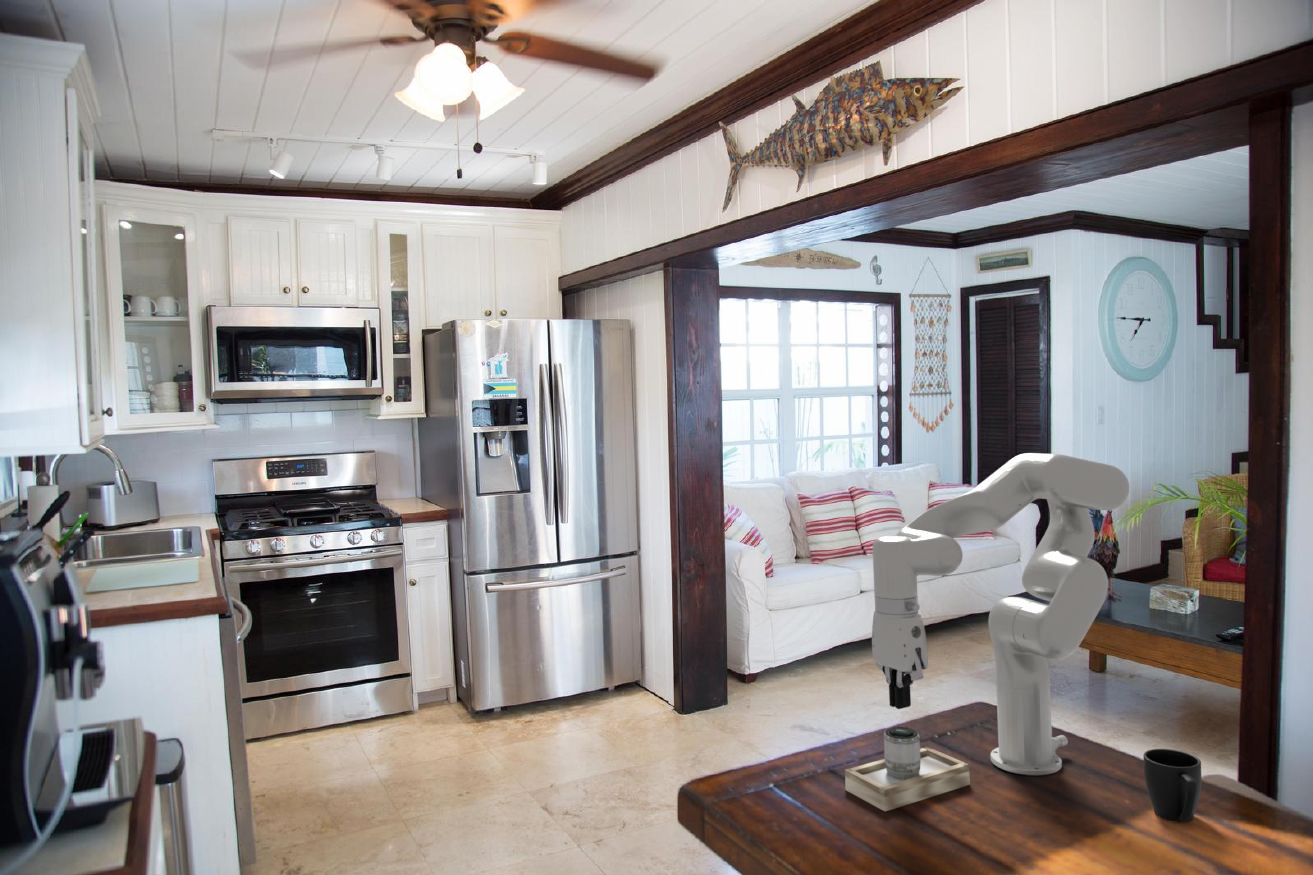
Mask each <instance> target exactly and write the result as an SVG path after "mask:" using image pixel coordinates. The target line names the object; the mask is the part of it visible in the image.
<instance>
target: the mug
mask: <svg viewBox="0 0 1313 875" xmlns="http://www.w3.org/2000/svg"><path fill="white" fill-rule="evenodd" d="M1142 759H1143V775H1144V781H1145V786H1146V790H1147V794H1148V796H1149V799H1150V803H1151V806H1152V809H1153V812H1154V814H1155V815H1156V816H1157V817H1159V818H1160V819H1162V820H1164V821H1168V822H1172V823H1173V822H1174V823H1189V822H1191V821H1193V820H1194V819H1195V818H1194V816H1195V813H1196V810H1197V808H1198V804H1199V800H1200V796H1201V791H1202V790H1201V789H1202V761H1201V760H1200V758H1198V757H1197V756H1195V755H1194V754H1191V753H1189V752H1186V751H1182V750H1176V749H1168V748H1154V749H1148V750H1147V751H1145V752H1144V753H1143V758H1142Z"/></svg>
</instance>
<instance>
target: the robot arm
mask: <svg viewBox="0 0 1313 875" xmlns="http://www.w3.org/2000/svg"><path fill="white" fill-rule="evenodd" d="M1129 493H1130V482H1129V480H1128V478H1127V476H1126V474H1125V472H1123V470H1121V469H1119V468H1118V467H1116V466H1115V465H1111V464H1108V463H1103V462H1098V461H1093V460H1087V459H1083V458H1078V457H1075V456H1071V455H1070V456H1069V455H1065V454H1058V453H1043V452H1042V453H1040V452H1039V453H1037V452H1027V453H1021V454H1020V453H1019V454H1018V455H1015V456H1014V457H1012V458H1011V459H1009V460H1008V461H1006V462H1005V463H1004V464H1003V465H1002V466H1001V467H999V468H998V469H997V470H995V471H994V472H993V473H991V474H990V475H989V476H988V477H986V478H985V479H984V480H983V481H981V482H980V483H979V484H977V485H976V486H975V487H973V488H971V489H970V490H969V491H968V492H966V493H964V494H960V495H957V496H956V497H953V498H951V499H948V500H947V501H945V502H942V503H939V504H938V505H935V506H933V507H931V508H929V509H927V510H924V512H922V513H920V514H919V515H918V516H916V517H915V518H914V519H913V520H911V521H909V522H908V524H906V525H905V526H904V527H902V528H901V529H900V530H899V531H898V532H897V533H896V535H885V536H880V537H877V538H876V539H875V540H874V541H873V543H872V565H873V566H872V567H873V568H872V569H873V570H872V571H873V590H874V592H873V593H874V612H873V617H872V626H871V627H872V628H871V650H872V652H871V653H872V657H873V658H872V659H873V660H874V662H875V666H876V667H877V668H878V669H879V670H881V671H882V672H883V675H884V676H885V682H886V683H887V684H888V695H889V696H888V697H889V698H888V699H889V706H890V707H891V708H895V709H897V710H901V709H906V708H909V707H911V706H912V705H911V704H912V700H911V697H912V696H911V686H912V685H913V684H914V681H920V680H924V673H923V670H926V669H928V668H929V654H928V653H929V652H928V643H927V636H926V635H927V634H926V630H925V625H924V621H923V617H922V614H919V611H920V605H919V602H918V601H919V600H918V599H919V598H918V576H935V577H936V576H937V577H938V576H941V577H943V576H947V575H950V574H952V573H954V572H955V571H956V570H957V569H958V568H959V567H960V565H961V564H962V562H963V549H962V547H961V545H960V544H959V543H958V542H957V540H956V539H955V538H959V537H963V536H967V535H973V534H981V533H984V532H985V533H986V532H989V531H993V530H996V529H998V528H1001V527H1003V526H1004V525H1005V524H1006V523H1008V522H1009V521H1010V520H1011V519H1012V518H1014V517H1015V516H1016V515H1017V514H1019V513H1020V512H1021V511H1023V510H1024V509H1025V508H1027V506H1029V505H1030V504H1031V503H1032V502H1033V501H1035V500H1038V499H1042V500H1046V501H1047V505H1048V509H1049V523H1048V526H1047V529H1046V530H1045V532H1044V535H1043V536H1042V538H1041V539H1040V541H1039V544H1038V545H1037V547H1036V549H1035V550H1034V552H1033V553H1032V554H1031V557H1030V558H1029V560H1028V562H1027V564H1026V566H1025V567H1024V569H1023V573H1022V576H1021V583H1022V586H1023V588H1024V590H1025V591H1026V592H1027V593H1028V594H1030V595H1031V596H1033V597H1035V598H1038V599H1040V600H1044V601H1048V602H1049V604H1048V603H1044V602H1041V601H1038V600H1034V599H1033V600H1032V599H1029V598H1025V597H1021V596H1008V597H1004V598H1001V599H999V600H998V601H997V602H995V603H994V605H993V606H992V607H991V609H990V611H989V614H988V628H989V629H988V630H989V634H990V635H989V636H990V638H991V643H992V647H993V648H992V649H993V653H994V662H995V663H994V664H995V682H996V684H995V685H996V708H997V709H996V712H997V738H998V741H997V742H998V747H996V748H994V749H992V751H991V752H990V762H991V763H992V764H993V765H995V766H996V767H997V768H998V769H1001V770H1004V771H1007V772H1009V773H1014V774H1018V775H1025V776H1045V775H1051V774H1054V773H1055V774H1056V773H1058V772H1059V771H1060V770H1062V767H1063V761H1062V759H1061V757H1060V756H1059V755H1058V754H1056V750H1058V748H1060V747H1061V748H1062V747H1065V746H1066V745H1068V744H1069V740H1068V738H1067V737H1066V735H1063V734H1061V735H1057V736H1054V737H1053V728H1052V726H1053V725H1052V703H1051V701H1052V700H1051V675H1050V668H1049V663H1048V660H1053V661H1054V660H1055V661H1061V660H1065V659H1067V658H1068V657H1070V656H1071V655H1073V654H1074V653H1075V651H1077V649H1078V648H1079V646H1080V645H1081V644H1082V642H1083V640H1084V638H1085V637H1086V635H1087V633H1088V632H1089V630H1090V628H1091V626H1092V624H1093V623H1094V621H1095V619H1096V617H1097V616H1098V614H1099V612H1100V610H1101V609H1102V606H1103V605H1104V603H1105V601H1106V598H1107V594H1108V590H1109V589H1108V588H1109V578H1108V574H1107V572H1106V571H1105V568H1104V567H1103V566H1102V565H1101V564H1100V563H1099V562H1098V561H1097V560H1094V559H1092V558H1090V557H1088V556H1089V554H1090V552H1091V549H1092V548H1093V546H1094V542H1095V536H1096V535H1095V534H1096V533H1095V527H1094V523H1093V521H1092V517H1091V514H1090V511H1089V510H1098V511H1112V510H1115V509H1118V508H1119V507H1121V506H1122V505H1123V504H1124V503H1125V502H1126V500H1127V499H1128V497H1129ZM1047 659H1048V660H1047Z"/></svg>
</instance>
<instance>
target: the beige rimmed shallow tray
mask: <svg viewBox="0 0 1313 875" xmlns="http://www.w3.org/2000/svg"><path fill="white" fill-rule="evenodd" d="M920 761H921V765H920V771H919V775H918V776H917V777H914V778H910V779H898V778H894V777H891V776H890V775H888V773H887V769H886V766H885V758H883V759H879V760H876V761H872V762H868V763H865V764H862V765H859V766H858V765H857V766H854V767H850V768H847V769H845V770H844V778H845V781H844V783H845V790H846V791H847V792H848V793H850V794H852V795H854V796H856V797H857V798H859V799H861V800H863V801H864V802H867V803H869V804H870V805H872V806H873V807H876V808H878V809H880V810H882V812H887V811H891V810H895V809H898V808H901V807H904V806H906V805H907V806H908V805H910V804H913V803H917V802H920V801H923V800H927V799H929V798H933V797H936V796H938V795H939V796H940V795H941V794H945V793H948V792H951V791H954V790H957V789H960V788H964V787H967V786H970V785H971V782H970V781H971V779H970V778H971V777H970V764H969V763H966V762H964V761H962V760H960V759H957V758H955V757H952V756H950V755H947V754H945V753H943V752H940V751H938V750H936V749H934V748H932V747H929V746H925V747H920Z"/></svg>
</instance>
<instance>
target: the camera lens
mask: <svg viewBox="0 0 1313 875" xmlns="http://www.w3.org/2000/svg"><path fill="white" fill-rule="evenodd" d="M920 738H921V737H920V735H919V733H918V732H917V731H916V730H915V729H913V728H909V727H906V726H905V727H904V726H894V727H890V728H887V729H886V730H885V731H884V733H883V744H884V745H883V746H884V759H885V766H886V769H887V773H888V775H890V776H891V777H894V778H898V779H910V778H914V777H917V776H918V775H919V771H920V765H921V761H920V749H921V743H920V742H921V740H920Z"/></svg>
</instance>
